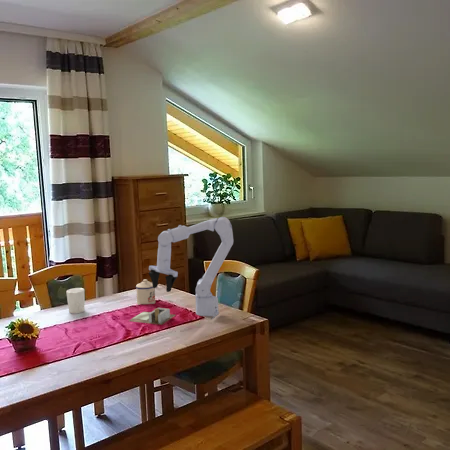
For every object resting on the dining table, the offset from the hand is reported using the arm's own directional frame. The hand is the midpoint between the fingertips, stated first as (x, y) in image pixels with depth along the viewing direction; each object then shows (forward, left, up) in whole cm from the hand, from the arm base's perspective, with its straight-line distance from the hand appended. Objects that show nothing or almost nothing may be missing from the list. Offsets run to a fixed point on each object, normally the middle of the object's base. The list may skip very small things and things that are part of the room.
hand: (161, 289), depth 215 cm
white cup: (+42, +5, -12) cm, 44 cm away
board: (+2, +6, -12) cm, 14 cm away
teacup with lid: (+17, -16, -12) cm, 26 cm away
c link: (-3, +8, -11) cm, 14 cm away
